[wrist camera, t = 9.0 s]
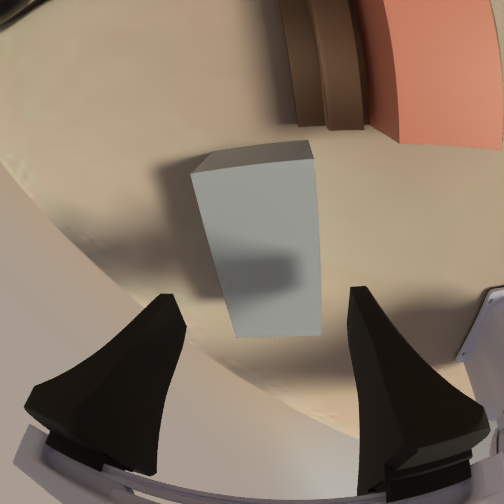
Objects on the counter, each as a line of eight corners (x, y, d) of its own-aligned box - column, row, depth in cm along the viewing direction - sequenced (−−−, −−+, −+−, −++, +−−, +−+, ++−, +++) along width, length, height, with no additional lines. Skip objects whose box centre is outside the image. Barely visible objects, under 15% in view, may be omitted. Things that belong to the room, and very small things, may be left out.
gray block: (318, 290, 19) (321, 335, 16) (245, 293, 20) (236, 337, 17) (307, 139, 14) (313, 158, 10) (213, 150, 15) (190, 173, 11)
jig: (492, 132, 11) (517, 143, 9) (298, 124, 13) (299, 132, 11) (469, -32, 5) (491, -40, 3) (264, -60, 7) (259, -80, 5)
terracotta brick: (456, 129, 11) (501, 150, 7) (370, 125, 12) (399, 143, 8) (425, -54, 5) (457, -78, 2) (333, -69, 6) (344, -107, 3)
